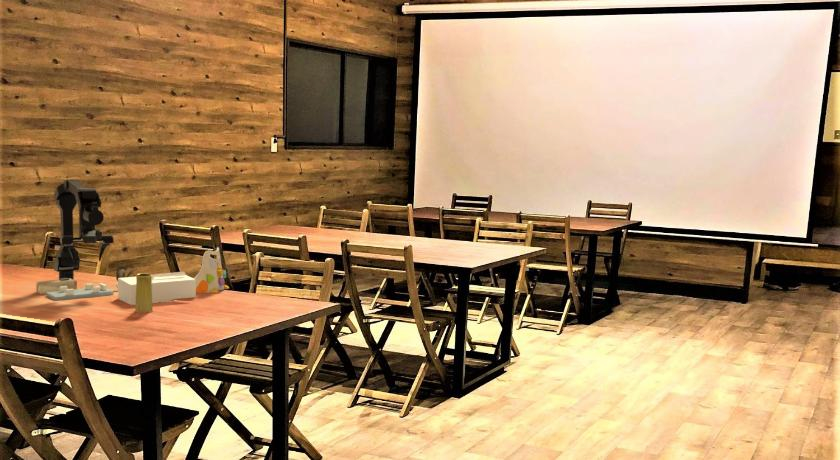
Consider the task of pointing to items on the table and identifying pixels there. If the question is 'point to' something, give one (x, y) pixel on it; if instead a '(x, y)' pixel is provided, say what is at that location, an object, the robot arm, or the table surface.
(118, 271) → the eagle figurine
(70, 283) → the beam with grey square
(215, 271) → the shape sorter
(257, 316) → the table surface
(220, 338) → the table surface
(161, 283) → the tissue box
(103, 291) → the jig
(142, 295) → the vase
